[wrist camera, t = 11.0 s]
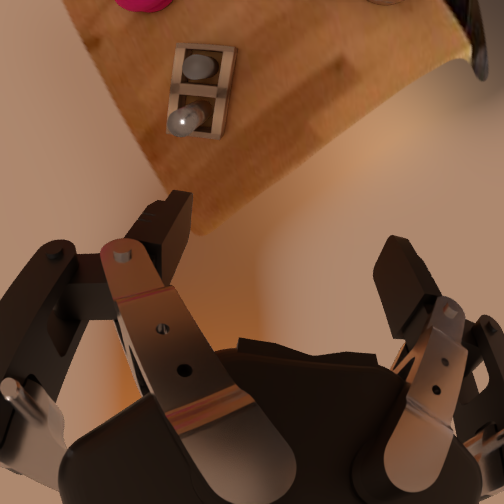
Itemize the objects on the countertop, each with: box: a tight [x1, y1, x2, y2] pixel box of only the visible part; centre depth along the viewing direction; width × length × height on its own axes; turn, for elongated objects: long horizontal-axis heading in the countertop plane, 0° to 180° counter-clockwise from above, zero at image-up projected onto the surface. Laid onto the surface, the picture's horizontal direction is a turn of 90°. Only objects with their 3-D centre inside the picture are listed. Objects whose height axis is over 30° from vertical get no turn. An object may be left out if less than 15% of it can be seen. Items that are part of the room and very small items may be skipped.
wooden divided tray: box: [166, 43, 238, 140], centre depth 32 cm, size 12×7×6 cm, turn 170°
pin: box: [167, 100, 213, 137], centre depth 32 cm, size 3×3×10 cm
